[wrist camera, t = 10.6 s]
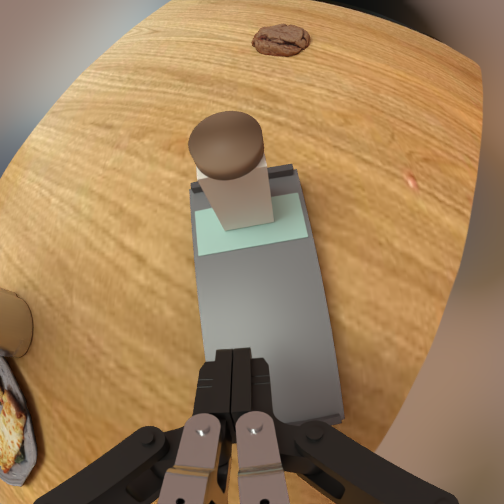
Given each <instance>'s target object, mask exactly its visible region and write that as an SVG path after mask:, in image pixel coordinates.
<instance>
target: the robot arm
mask: <svg viewBox="0 0 504 504" xmlns="http://www.w3.org/2000/svg"><path fill="white" fill-rule="evenodd" d="M32 330H33V328H32V317H31V313H30V310H29V308H28V305H27V304H26V303H25V301H24V300H22V299H21V298H18V297H17V296H16V294H15V292H12V291H9V290H5V289H2V288H0V356H6V357H21V356H22V355H24V354H25V353H26V351H27V350H28V348H29V345H30V343H31V338H32ZM234 443H237V451H238V463H239V472H238V486H239V497H240V504H290V502H289V497H288V492H287V486H286V481H285V476H284V471H287V472H293V473H297V475H298V476H299V477H301V478H302V479H303V480H305V481H306V482H307V483H308V484H310V485H311V486H312V487H314V488H315V489H316V490H318V491H319V492H321V493H322V494H323V495H325V496H326V497H327V498H329V499H330V500H332V501H333V502H335V503H336V504H459V503H458V500H457V499H456V497H455V496H454V495H452V494H450V493H448V492H446V491H444V490H442V489H440V488H438V487H436V486H434V485H432V484H429V483H428V482H426V481H424V480H422V479H420V478H418V477H416V476H414V475H412V474H410V473H409V472H407V471H405V470H403V469H401V468H400V467H398V466H396V465H394V464H392V463H390V462H389V461H387V460H385V459H384V458H382V457H380V456H378V455H377V454H375V453H373V452H372V451H370V450H368V449H367V448H365V447H364V446H362V445H360V444H359V443H357V442H355V441H354V440H352V439H351V438H349V437H347V436H346V435H344V434H343V433H341V432H340V431H338V430H337V429H335V428H334V427H332V426H330V425H329V424H327V423H326V422H323V421H319V420H312V421H308V422H305V423H303V424H302V425H300V426H296V425H289V424H286V423H283V422H281V421H280V420H278V419H277V418H276V417H275V415H274V413H273V404H272V393H271V382H270V372H269V365H268V363H267V362H266V361H265V359H264V358H252V353H251V347H245V348H234V350H233V349H218V350H216V356H215V361H207V362H205V363H204V365H203V366H202V367H201V369H200V371H199V378H198V384H197V390H196V397H195V403H194V410H193V415H192V417H191V418H189V419H188V420H187V422H186V423H185V426H183V427H181V428H179V429H175V430H171V431H167V432H162V431H161V430H160V429H159V428H157V427H154V426H145V427H142V428H140V429H138V430H137V431H135V432H134V433H133V434H131V435H130V436H129V437H127V438H126V439H125V440H123V441H122V442H121V443H119V444H118V445H117V446H115V447H114V448H112V449H111V450H110V451H108V452H107V453H105V454H104V455H103V456H101V457H100V458H98V459H97V460H96V461H94V462H93V463H91V464H90V465H88V466H87V467H86V468H84V469H83V470H81V471H80V472H78V473H77V474H75V475H74V476H72V477H71V478H69V479H68V480H66V481H65V482H63V483H62V484H60V485H59V486H57V487H56V488H54V489H52V490H51V491H49V492H48V493H46V494H44V495H43V496H41V497H40V498H38V499H37V500H36V501H35V502H34V503H33V504H151V503H152V502H154V501H155V500H156V499H157V498H159V500H158V503H157V504H228V488H229V480H230V472H231V463H232V456H231V453H232V444H234Z"/></svg>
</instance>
